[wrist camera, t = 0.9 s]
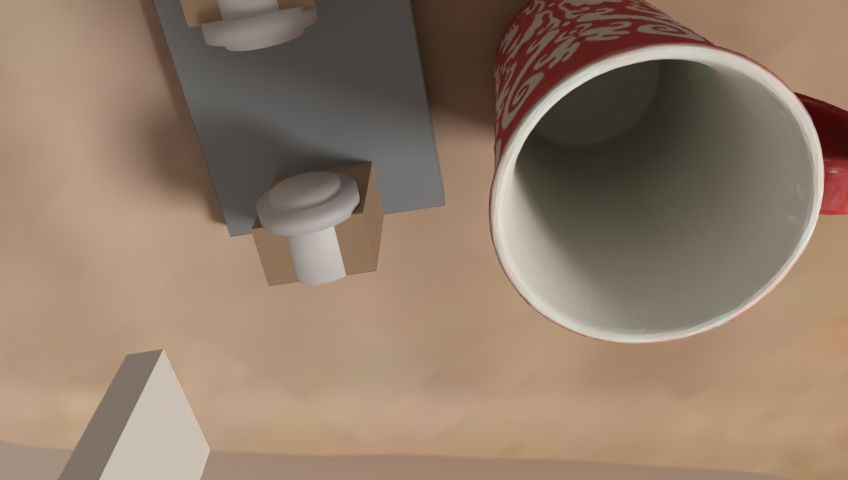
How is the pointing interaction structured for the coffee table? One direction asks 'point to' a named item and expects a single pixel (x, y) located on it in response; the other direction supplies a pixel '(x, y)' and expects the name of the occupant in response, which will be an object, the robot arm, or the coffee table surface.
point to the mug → (650, 171)
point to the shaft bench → (308, 124)
